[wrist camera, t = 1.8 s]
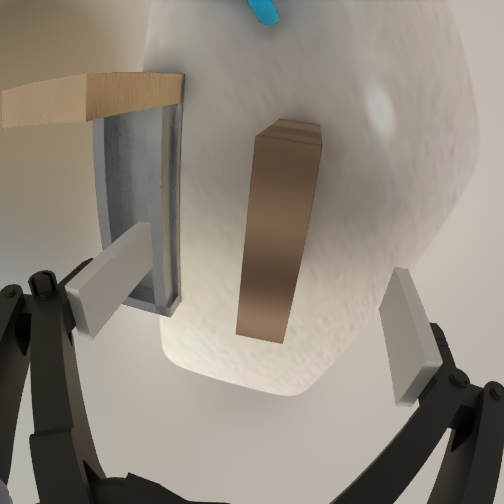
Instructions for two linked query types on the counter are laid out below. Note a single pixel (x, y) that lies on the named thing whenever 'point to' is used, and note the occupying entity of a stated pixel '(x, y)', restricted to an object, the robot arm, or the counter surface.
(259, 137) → the door panel
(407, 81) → the counter surface
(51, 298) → the robot arm
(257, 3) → the mug
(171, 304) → the door track
